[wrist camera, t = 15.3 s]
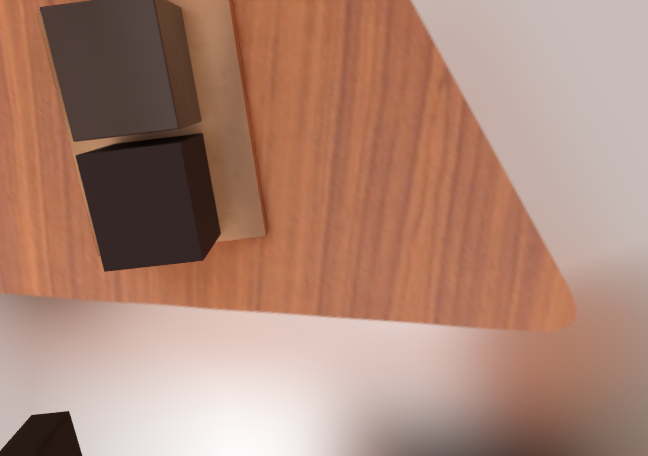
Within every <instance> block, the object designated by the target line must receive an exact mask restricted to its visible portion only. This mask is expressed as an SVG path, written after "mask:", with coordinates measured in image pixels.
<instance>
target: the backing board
mask: <svg viewBox="0 0 648 456" xmlns="http://www.w3.org/2000/svg"><path fill="white" fill-rule="evenodd" d="M40 11H41V13H37V17H38V21H39V25H40V29H41V33H42V37H43V41H44V45H45V48H46V52H47V56H48V60H49V64H50V68H51V72H52V76H53V80H54V84H55V88H56V92H57V96H58V100H59V104H60V108H61V112H62V115H63V119H64V123H65V127H66V131H67V135H68V139H69V143H70V147H71V151H72V155H73V159H74V163H75V167H76V171H77V175H78V178H79V182H80V186H81V190H82V194H83V198H84V202H85V206H86V210H87V214H88V218H89V222H90V226H91V230H92V234H93V238H94V242H95V245H96V249H97V253H98V256H100V252H99V248H98V244H97V240H96V236H95V232H94V228H93V224H92V220H91V216H90V212H89V208H88V204H87V200H86V196H85V192H84V188H83V184H82V180H81V176H80V172H79V168H78V164H77V160H76V155H78V154H82V153H85V152H88V151H92V150H95V149H98V148H102V147H105V146H108V145H112V144H116V143H124V142H133V141H141V140H149V139H158V138H166V137H174V136H183V135H191V134H199V133H203V137H204V143H205V148H206V154H207V159H208V165H209V170H210V176H211V182H212V187H213V193H214V198H215V204H216V209H217V215H218V220H219V226H220V231H221V235H220V236H219V238H218V239H217V241H216V242H224V241H233V240H242V239H251V238H259V237H266V235H267V233H268V229H267V222H266V216H265V209H264V203H263V197H262V190H261V184H260V177H259V171H258V164H257V158H256V152H255V145H254V139H253V132H252V126H251V119H250V113H249V106H248V100H247V94H246V87H245V81H244V74H243V68H242V61H241V55H240V48H239V42H238V36H237V29H236V23H235V16H234V10H233V3H232V0H91V1H83V2H76V3H68V4H60V5H53V6H45V7H40ZM216 242H215V243H216Z"/></svg>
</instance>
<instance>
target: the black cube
mask: <svg viewBox="0 0 648 456" xmlns="http://www.w3.org/2000/svg"><path fill="white" fill-rule="evenodd" d="M76 160H77V164H78V168H79V172H80V176H81V180H82V184H83V188H84V192H85V196H86V200H87V204H88V208H89V212H90V216H91V220H92V224H93V228H94V232H95V236H96V240H97V244H98V248H99V252H100V256H101V260H102V264H103V268H104V271H105V272H106V271H115V270H123V269H132V268H141V267H150V266H159V265H168V264H177V263H186V262H195V261H203V260H204V258H205V257H206V255H207V254H208V252H209V251H210V249H211V248H212V246H213V245H214V244H215V242H216V241H217V239H218V238H219V236H220V235H221V231H220V226H219V220H218V215H217V209H216V204H215V198H214V193H213V187H212V182H211V176H210V170H209V165H208V159H207V154H206V148H205V143H204V137H203V133H199V134H191V135H183V136H174V137H166V138H158V139H149V140H141V141H133V142H124V143H116V144H112V145H108V146H105V147H102V148H98V149H95V150H92V151H88V152H85V153H82V154H78V155H76Z"/></svg>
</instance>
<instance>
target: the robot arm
mask: <svg viewBox="0 0 648 456" xmlns="http://www.w3.org/2000/svg"><path fill="white" fill-rule="evenodd" d="M0 456H82V453H81V450H80V447H79V443H78V440H77V436H76V433H75V430H74V426H73V423H72V420H71V416H70V413H69V411H66V412H57V413H47V414H37V415H31V416H30V418H29V419H28V420H27V421H26V422H25V423H24V424H23V426H22V427H21V428H20V429H19V430H18V431H17V432H16V434H15V435H14V436H13V437H12V439H10V440H9V441H8V443H7V444H6V445H5V446H4V447H3V448H2V450H1V451H0Z"/></svg>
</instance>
